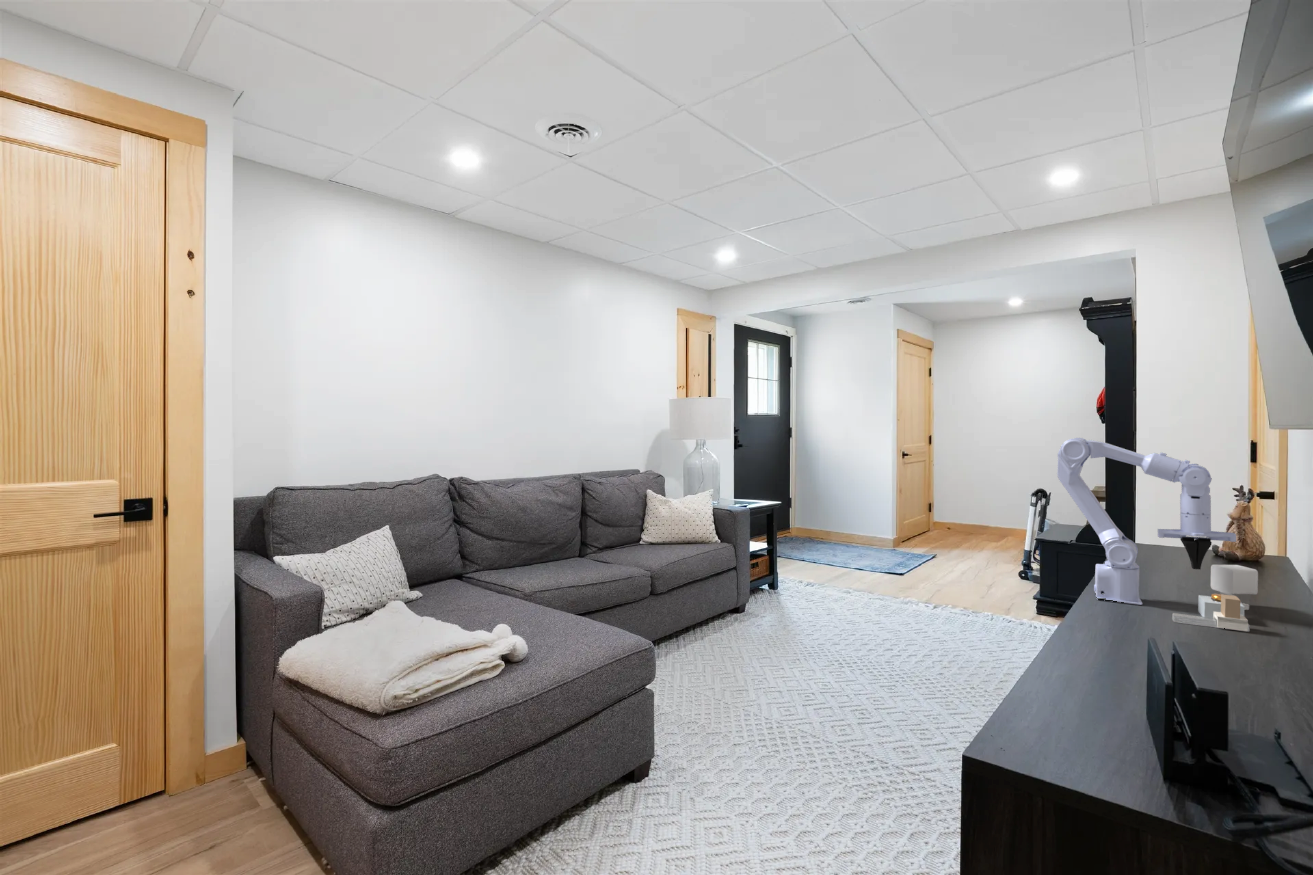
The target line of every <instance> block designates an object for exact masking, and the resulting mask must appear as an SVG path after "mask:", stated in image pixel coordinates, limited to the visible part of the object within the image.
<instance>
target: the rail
mask: <svg viewBox="0 0 1313 875" xmlns="http://www.w3.org/2000/svg"><path fill="white" fill-rule="evenodd" d="M1171 620H1172V621H1173V622H1174V623H1179V624H1187V625H1192V626H1193V625H1194V626H1202V627H1209V628H1216V629H1217V628H1218V627H1217V619H1216V618H1209V617H1202V615H1200V616H1199V615H1198V616H1197V615H1192V614H1191V615H1190V614H1184V613H1183V614H1182V613H1177V612H1172V616H1171ZM1218 629H1219V628H1218ZM1230 630H1233V629H1230ZM1233 631H1234V630H1233ZM1238 631H1240V632H1242V631H1241V630H1238ZM1246 632H1248V633H1250V624H1249V623H1248V631H1246Z"/></svg>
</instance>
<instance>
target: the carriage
mask: <svg viewBox="0 0 1313 875" xmlns="http://www.w3.org/2000/svg"><path fill="white" fill-rule="evenodd" d="M1220 594H1221V593H1220ZM1240 602H1241V599H1240V598H1239V597H1238V596H1237V595H1234V596H1231V595H1222V594H1221V612H1214V611H1213V618H1216V619H1217V627H1218V629H1224V628H1225V629H1226V630H1231V629H1233V631H1239V630H1241V631H1240V632H1247V631H1248V624H1249V620H1248V619H1247V618H1246V616H1245V615H1244V616H1243V615H1240ZM1225 629H1224V630H1225Z"/></svg>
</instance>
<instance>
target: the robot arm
mask: <svg viewBox="0 0 1313 875" xmlns="http://www.w3.org/2000/svg"><path fill="white" fill-rule="evenodd" d="M1089 458H1090V459H1097V458H1108V459H1111V460H1114V461H1119V462H1122V463H1126V464H1130V465H1133V466H1136V467H1139V468H1141V470H1142V472H1143V473H1144V474H1145V475H1148V476H1152V477H1155V478H1158V479H1161V480H1164V481H1168V482H1170V483H1171V482H1172V483H1174V484H1175V483H1177V482H1179V483H1180V484H1181V493H1180V494H1179V498H1180V500H1179V507H1180V509H1179V510H1180V514H1179V515H1180V517H1179V518H1180V519H1179V520H1180V524H1179V525H1180V527H1179V528H1178V529H1177V528H1175V529H1174V528H1173V529H1169V528H1157V537H1158V538H1161V539H1163V538H1164V539H1165V538H1171V539H1180V541H1181V544H1182V545H1183V546H1184V549H1185V551H1186V552H1187V555H1188V557H1189V560H1190V564H1191V569H1193V570H1200V571H1201V569H1202V564H1203V560H1204V558H1205V557H1206V554H1207V552H1208V551H1209V549H1211V546H1212V544H1213V542H1212V541H1220V542H1221V541H1222V542H1231V543H1234V542H1235V543H1236V542H1237V534H1236V533H1235V532H1227V531H1226V532H1225V531H1214V530H1212V503H1211V502H1212V500H1211V498H1212V497H1211V487H1210V486H1209V485H1210V484H1211V482H1212V480H1213V479H1212V476H1211V474H1210V472H1209V470H1208V469H1207V468H1206V467H1205V466H1203V465H1199V464H1198V463H1191V461H1190V460H1187V459H1185V460H1181V459H1178V458H1173V457H1172V456H1167V453H1166V452H1162V451H1161V452H1160V453H1156V452H1153V453H1150V454H1146V455H1145V454H1143V453H1142V454H1141V453H1138V452H1135V451H1132V450H1129V449H1125V448H1124V447H1119V446H1116V445H1114V444H1111V443H1108V442H1103V441H1098V440H1092V439H1088V440H1087V439H1085V438H1083V437H1074V438H1069V439H1067V440H1065V441H1064V442H1063V443H1062V444H1061V446H1060V448H1059V450H1058V453H1057V473H1056V474H1057V478H1058V480H1059V482H1060V483H1061V484H1062V486H1063V487H1064V488H1065V490H1066V492H1067V493H1068V495H1069V496H1070V497H1071V499H1072V500H1073V502H1074V503H1075V504H1076V506H1077V508H1078V509H1079V511H1081V513H1082V515H1083V516H1084V517H1085V519H1086V520H1087V522H1088V524H1089V525H1090V526H1091V527H1092V529H1093V531H1095V533H1096V535H1097V536H1098V538H1099V541H1100V543H1101V545H1102V546H1103V548H1104V550H1105V557H1106V560H1105V561H1104V563H1096V564H1095V571H1094V572H1095V573H1094V584H1093V591H1094V593H1096V595H1095V598H1096V597H1097V598H1106V600H1113V601H1117V602H1116V603H1121V602H1124V603H1123V604H1130V605H1140V606H1141V605H1142V606H1143V602H1142V600H1141V598H1140V591H1139V590H1140V565H1139V564H1137V563H1136V560H1137V557H1138V554H1139V549H1138V545H1137V544H1136V543H1135V542H1134V541H1133V540H1131V539H1129V538H1128V537H1127V536H1125V533H1124V532H1122V531H1121V530H1120V529H1119V527H1118V526H1117V525H1116V524H1115V522H1114V521H1113V520H1112V519H1111V517H1110V515H1109V514H1108V512H1107V511H1106V510H1105V508H1104V507H1103V506H1102V504H1101V503H1100V502H1099V500H1098V499H1097V497H1096V496H1095V494H1094V493H1093V492H1092V490H1091V489H1090V487H1089V486H1088V484H1087V483H1086V482H1085V480H1084V479H1083V478H1082V476H1081V472H1082V469H1083V468H1084V464H1085V462H1086V461H1087V460H1088V459H1089ZM1102 593H1104V594H1102ZM1097 598H1096V599H1097ZM1113 601H1112V602H1113Z"/></svg>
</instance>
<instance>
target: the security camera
mask: <svg viewBox="0 0 1313 875" xmlns="http://www.w3.org/2000/svg"><path fill="white" fill-rule="evenodd" d="M1258 583H1259V571H1258V570H1257V569H1255V568H1251V567H1247V566H1243V565H1239V564H1211V566H1210V588H1211V589H1212V590H1213V591H1217V592H1219V594H1222V595H1231V596H1235V595H1253V596H1256V595H1258V588H1259V584H1258ZM1240 603H1241V604H1242V605H1243V606H1244V607H1245V609H1244V611H1248V610H1250V604H1248V603H1244V602H1241V601H1240Z"/></svg>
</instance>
